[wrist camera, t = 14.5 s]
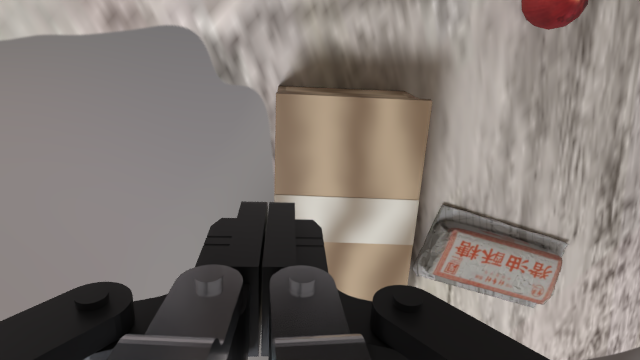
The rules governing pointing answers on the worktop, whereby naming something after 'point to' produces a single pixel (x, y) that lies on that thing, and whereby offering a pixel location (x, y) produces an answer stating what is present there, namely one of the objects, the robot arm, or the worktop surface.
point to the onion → (552, 12)
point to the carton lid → (354, 180)
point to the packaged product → (490, 257)
